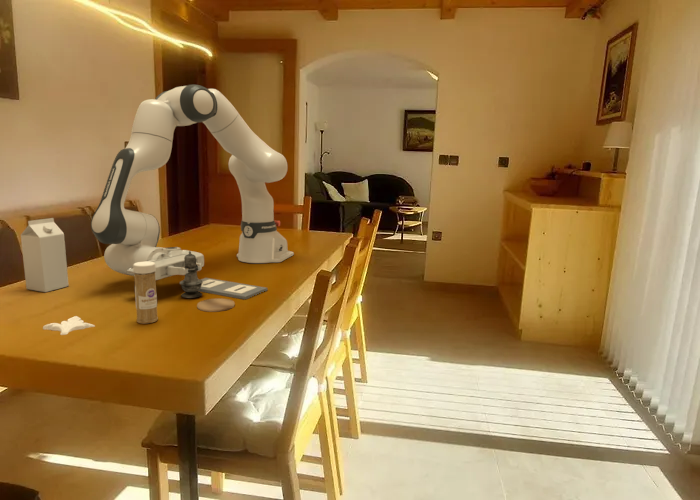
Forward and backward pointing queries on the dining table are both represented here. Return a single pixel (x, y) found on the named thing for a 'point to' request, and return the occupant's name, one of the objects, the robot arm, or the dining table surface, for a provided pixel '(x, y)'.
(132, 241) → the robot arm
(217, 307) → the coaster
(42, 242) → the milk carton
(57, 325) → the acanthus leaf ornament
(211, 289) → the label board
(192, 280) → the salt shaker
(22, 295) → the dining table surface
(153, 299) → the sprinkles bottle
